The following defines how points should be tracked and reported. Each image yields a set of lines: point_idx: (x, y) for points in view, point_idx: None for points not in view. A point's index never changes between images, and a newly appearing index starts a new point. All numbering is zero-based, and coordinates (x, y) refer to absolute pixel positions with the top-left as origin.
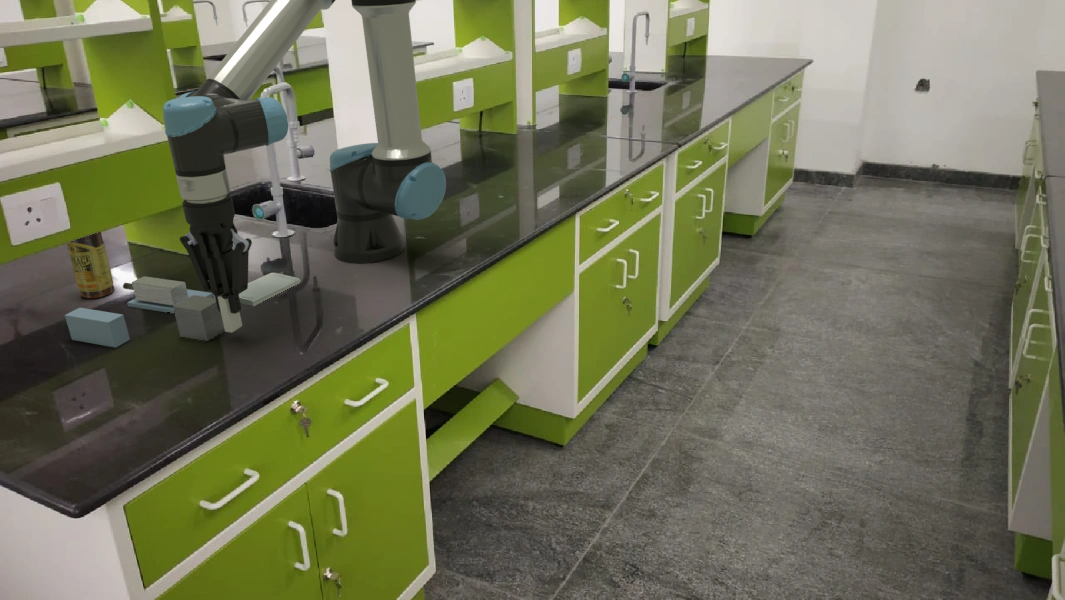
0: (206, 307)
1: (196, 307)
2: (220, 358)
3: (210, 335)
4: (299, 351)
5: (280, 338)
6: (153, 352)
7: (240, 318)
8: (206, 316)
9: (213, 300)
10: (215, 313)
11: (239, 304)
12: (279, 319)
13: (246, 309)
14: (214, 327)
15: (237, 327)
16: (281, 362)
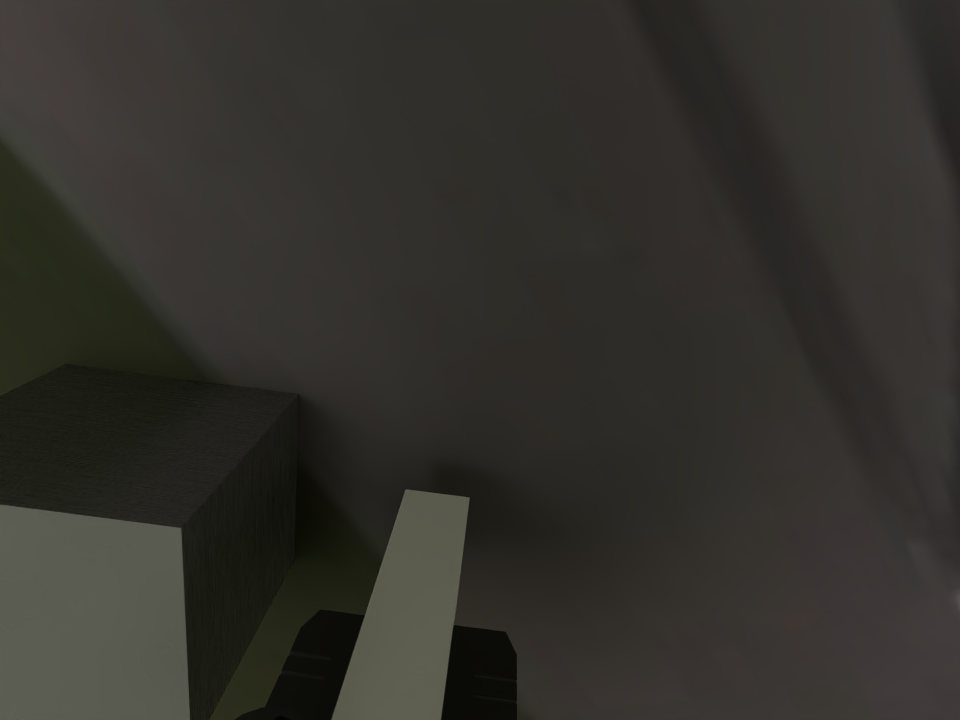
0: (186, 693)
1: (98, 704)
2: None
3: (285, 551)
4: (948, 589)
5: (748, 456)
6: None
7: (463, 535)
8: (224, 652)
9: (130, 562)
10: (230, 553)
11: (513, 700)
12: (597, 170)
13: (201, 30)
14: (273, 530)
15: (463, 548)
16: (878, 705)
